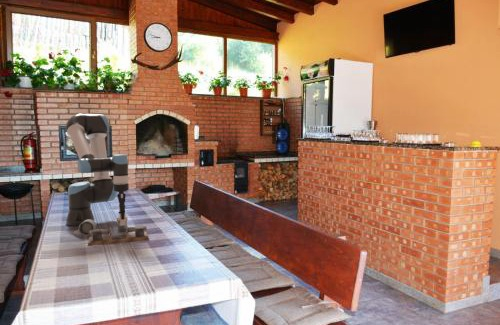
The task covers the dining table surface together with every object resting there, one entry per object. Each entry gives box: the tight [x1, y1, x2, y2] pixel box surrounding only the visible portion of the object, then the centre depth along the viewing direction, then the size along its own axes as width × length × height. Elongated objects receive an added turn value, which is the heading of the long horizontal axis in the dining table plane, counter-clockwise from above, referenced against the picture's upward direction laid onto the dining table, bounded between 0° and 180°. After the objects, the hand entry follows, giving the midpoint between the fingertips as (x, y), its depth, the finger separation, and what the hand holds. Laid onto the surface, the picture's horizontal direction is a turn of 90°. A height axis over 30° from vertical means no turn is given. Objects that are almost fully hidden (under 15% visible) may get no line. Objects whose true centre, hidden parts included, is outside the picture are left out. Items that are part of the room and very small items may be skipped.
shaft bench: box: [87, 224, 150, 246], centre depth 195 cm, size 28×11×7 cm, turn 110°
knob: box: [116, 216, 128, 233], centre depth 211 cm, size 5×5×7 cm
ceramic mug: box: [73, 219, 97, 237], centre depth 205 cm, size 11×8×8 cm
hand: (122, 222), depth 211 cm, fingers open, 13 cm apart
